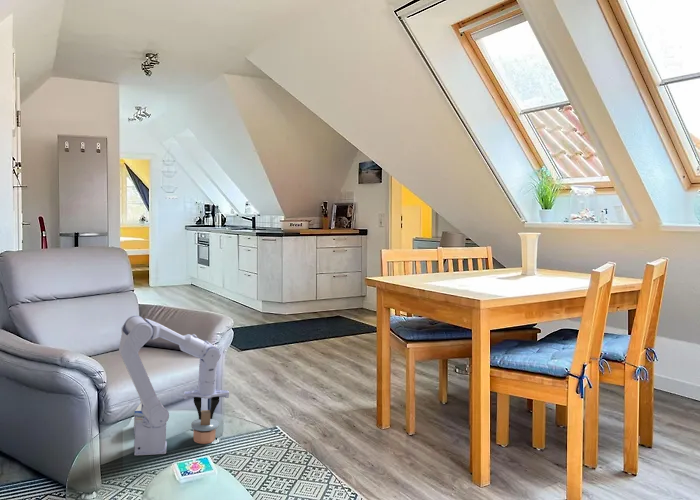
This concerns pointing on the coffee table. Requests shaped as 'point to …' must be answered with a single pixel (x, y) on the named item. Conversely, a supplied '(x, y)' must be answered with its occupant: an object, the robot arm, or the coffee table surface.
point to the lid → (205, 422)
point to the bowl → (204, 436)
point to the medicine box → (138, 416)
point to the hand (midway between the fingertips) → (205, 418)
